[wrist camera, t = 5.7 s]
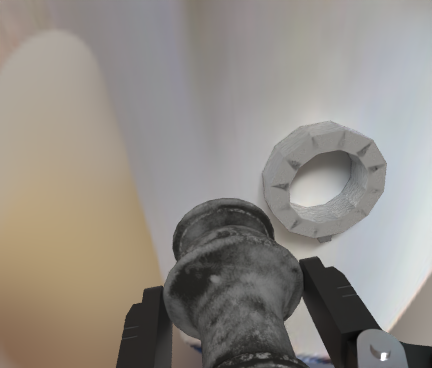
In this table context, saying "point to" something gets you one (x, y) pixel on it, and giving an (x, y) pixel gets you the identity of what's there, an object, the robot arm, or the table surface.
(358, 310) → the robot arm
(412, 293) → the table surface
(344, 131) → the ring
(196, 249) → the salt shaker
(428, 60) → the table surface
